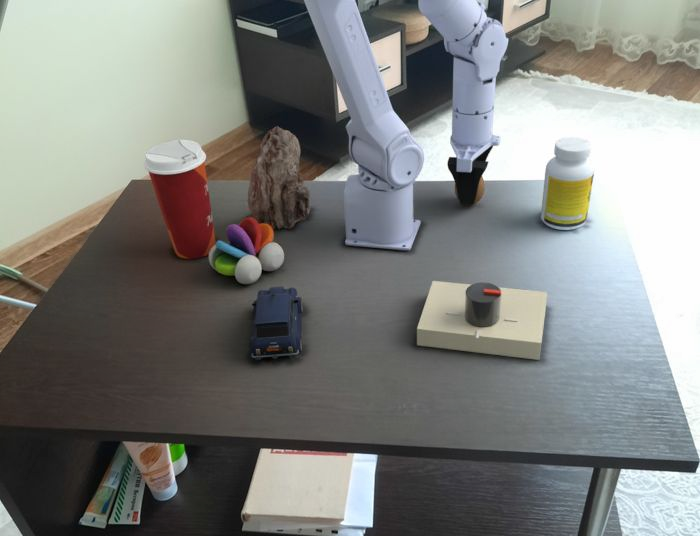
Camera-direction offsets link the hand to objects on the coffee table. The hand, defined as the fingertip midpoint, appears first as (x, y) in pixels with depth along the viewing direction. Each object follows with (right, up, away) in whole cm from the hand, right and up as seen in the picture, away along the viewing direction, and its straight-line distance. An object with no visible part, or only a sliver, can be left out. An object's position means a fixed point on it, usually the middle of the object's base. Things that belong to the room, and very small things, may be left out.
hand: (469, 195), depth 110 cm
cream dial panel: (-2, -20, -23) cm, 31 cm away
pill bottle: (+13, -5, -5) cm, 14 cm away
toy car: (-27, -21, -21) cm, 40 cm away
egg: (0, -1, +1) cm, 2 cm away
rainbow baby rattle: (-32, -12, -9) cm, 36 cm away
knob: (-3, -19, -25) cm, 32 cm away
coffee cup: (-41, -9, -4) cm, 42 cm away
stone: (-29, -4, 0) cm, 29 cm away
